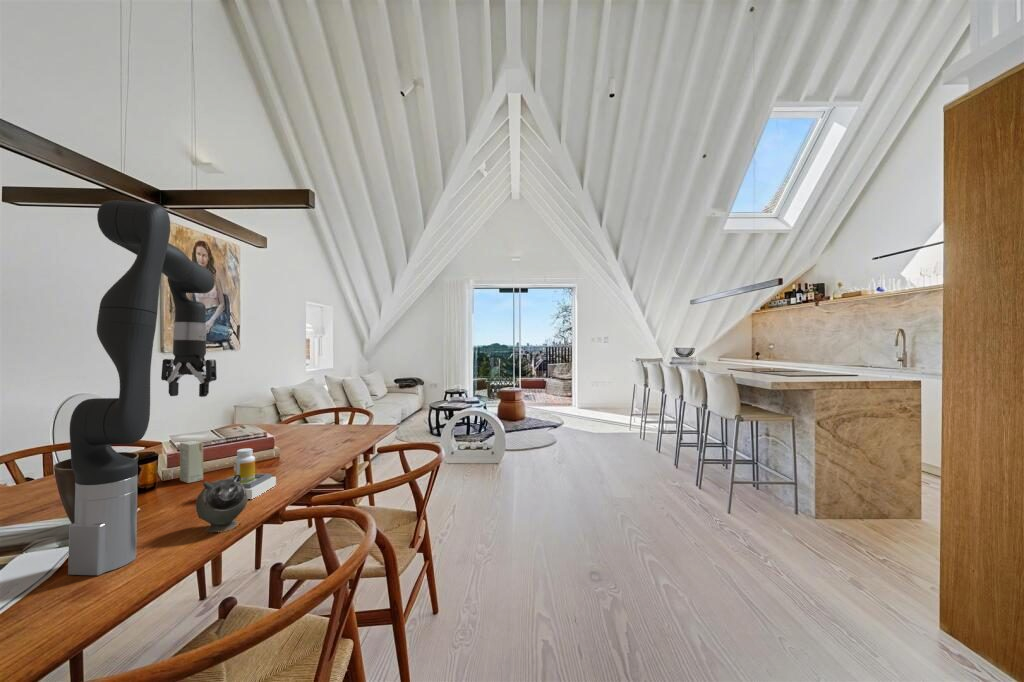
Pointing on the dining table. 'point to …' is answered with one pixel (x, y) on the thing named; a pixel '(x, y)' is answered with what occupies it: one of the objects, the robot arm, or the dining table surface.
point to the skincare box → (191, 461)
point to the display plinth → (258, 485)
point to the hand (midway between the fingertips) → (188, 396)
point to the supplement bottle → (245, 465)
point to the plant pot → (72, 483)
